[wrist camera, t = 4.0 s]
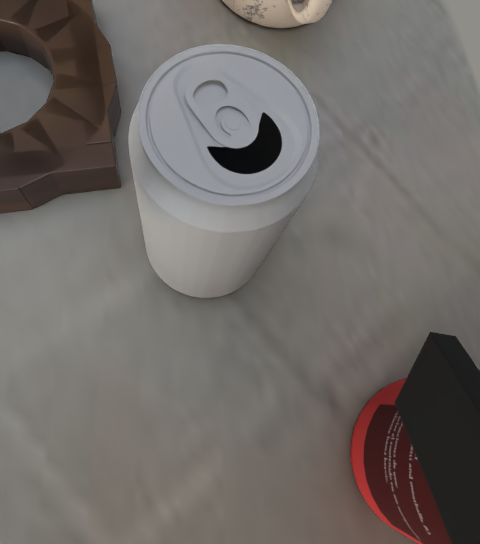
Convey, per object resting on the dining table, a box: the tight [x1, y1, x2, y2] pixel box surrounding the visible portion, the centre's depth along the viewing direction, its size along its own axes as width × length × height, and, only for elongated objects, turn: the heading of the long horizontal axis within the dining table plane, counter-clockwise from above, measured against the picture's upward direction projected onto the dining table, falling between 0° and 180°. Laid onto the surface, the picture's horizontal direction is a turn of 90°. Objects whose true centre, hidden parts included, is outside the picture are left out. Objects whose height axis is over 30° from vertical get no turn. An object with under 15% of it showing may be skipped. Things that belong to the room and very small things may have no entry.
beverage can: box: [128, 44, 320, 298], centre depth 20 cm, size 6×6×12 cm
